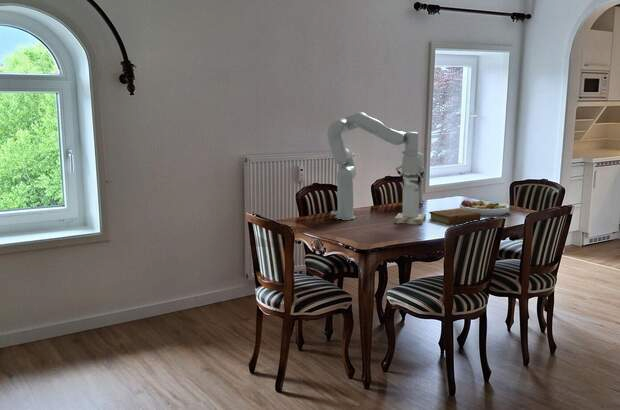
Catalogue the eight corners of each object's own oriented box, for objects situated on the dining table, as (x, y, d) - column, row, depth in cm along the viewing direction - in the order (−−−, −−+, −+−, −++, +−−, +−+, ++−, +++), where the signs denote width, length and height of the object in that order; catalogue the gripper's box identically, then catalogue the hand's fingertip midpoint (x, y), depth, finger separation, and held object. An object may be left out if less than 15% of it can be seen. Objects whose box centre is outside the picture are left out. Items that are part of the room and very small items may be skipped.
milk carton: (413, 217, 354) (413, 185, 351) (402, 216, 359) (402, 184, 355) (418, 215, 360) (419, 184, 357) (408, 214, 364) (408, 183, 361)
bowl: (503, 208, 398) (503, 196, 397) (514, 217, 369) (514, 204, 367) (456, 208, 401) (456, 196, 400) (463, 217, 372) (463, 204, 370)
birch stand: (394, 223, 355) (394, 218, 354) (398, 218, 370) (398, 213, 369) (422, 224, 350) (422, 219, 350) (425, 219, 365) (425, 214, 365)
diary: (449, 227, 346) (449, 217, 345) (428, 221, 362) (429, 211, 361) (480, 222, 356) (480, 212, 355) (459, 217, 373) (459, 207, 372)
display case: (401, 204, 416) (402, 152, 410) (416, 203, 418) (417, 152, 412) (407, 207, 405) (408, 154, 399) (422, 206, 407) (423, 154, 401)
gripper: (395, 153, 352) (394, 183, 355) (425, 154, 347) (424, 184, 350) (397, 152, 359) (396, 181, 362) (427, 153, 354) (426, 182, 357)
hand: (410, 182), depth 356 cm, fingers open, 9 cm apart
